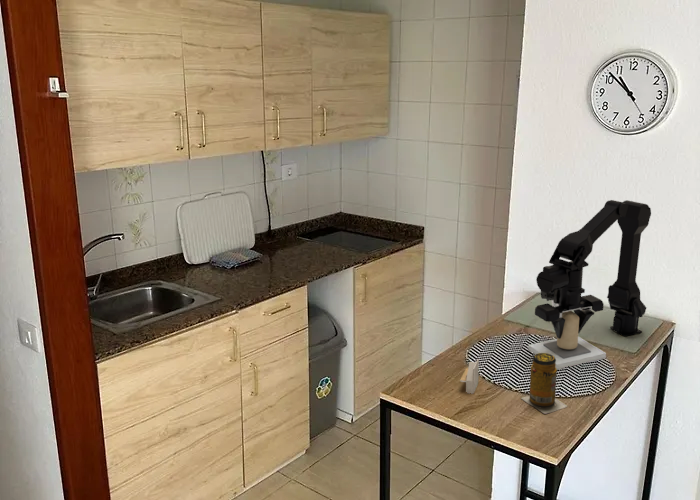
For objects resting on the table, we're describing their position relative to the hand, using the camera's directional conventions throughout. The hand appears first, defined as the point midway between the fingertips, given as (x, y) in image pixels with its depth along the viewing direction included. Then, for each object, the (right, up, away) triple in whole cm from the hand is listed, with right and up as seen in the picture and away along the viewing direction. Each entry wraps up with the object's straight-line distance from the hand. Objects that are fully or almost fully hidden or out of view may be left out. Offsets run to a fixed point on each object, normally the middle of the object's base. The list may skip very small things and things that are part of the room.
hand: (567, 336), depth 181 cm
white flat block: (0, -5, +2) cm, 5 cm away
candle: (0, -3, +1) cm, 3 cm away
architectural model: (-29, -12, -14) cm, 34 cm away
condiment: (-13, -14, -22) cm, 29 cm away
